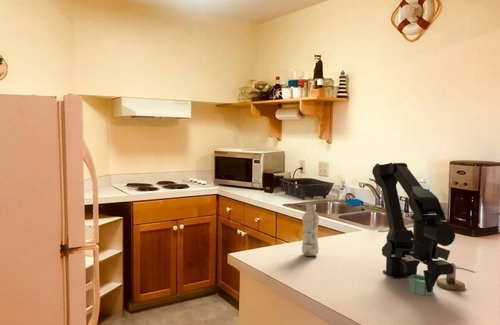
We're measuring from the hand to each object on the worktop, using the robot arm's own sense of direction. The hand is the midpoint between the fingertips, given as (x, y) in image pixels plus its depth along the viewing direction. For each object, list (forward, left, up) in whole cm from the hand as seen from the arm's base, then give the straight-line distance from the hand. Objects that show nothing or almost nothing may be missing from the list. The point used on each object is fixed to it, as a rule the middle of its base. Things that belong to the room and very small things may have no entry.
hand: (421, 287), depth 118 cm
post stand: (+12, +1, -1) cm, 12 cm away
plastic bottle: (-17, +41, -1) cm, 44 cm away
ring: (0, 0, -1) cm, 1 cm away
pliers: (+25, +16, -2) cm, 30 cm away
